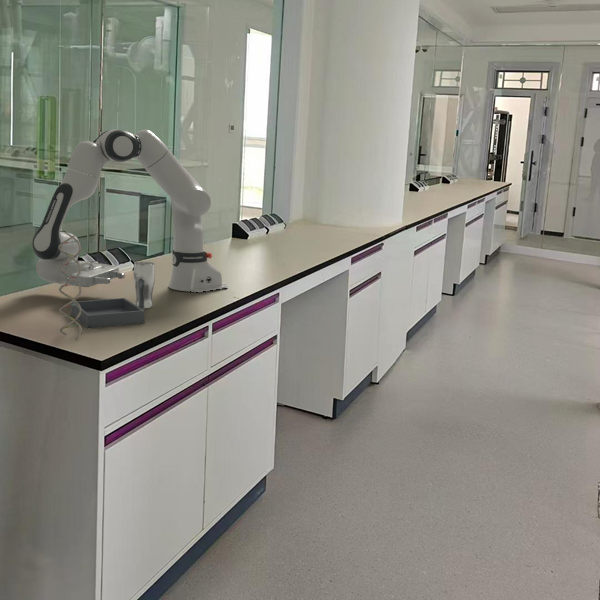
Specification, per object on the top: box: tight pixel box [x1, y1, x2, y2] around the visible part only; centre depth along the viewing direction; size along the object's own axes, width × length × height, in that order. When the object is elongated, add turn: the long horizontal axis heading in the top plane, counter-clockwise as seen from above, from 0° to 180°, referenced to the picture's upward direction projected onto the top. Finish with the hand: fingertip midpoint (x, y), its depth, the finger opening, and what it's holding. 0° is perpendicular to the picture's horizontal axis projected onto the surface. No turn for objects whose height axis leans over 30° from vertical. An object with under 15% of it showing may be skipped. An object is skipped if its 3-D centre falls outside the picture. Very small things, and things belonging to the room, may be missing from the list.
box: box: [70, 297, 145, 329], centre depth 228 cm, size 18×18×4 cm
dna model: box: [58, 231, 83, 341], centre depth 204 cm, size 7×6×30 cm
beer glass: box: [133, 260, 156, 310], centre depth 244 cm, size 7×7×15 cm
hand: (116, 278), depth 247 cm, fingers open, 8 cm apart
